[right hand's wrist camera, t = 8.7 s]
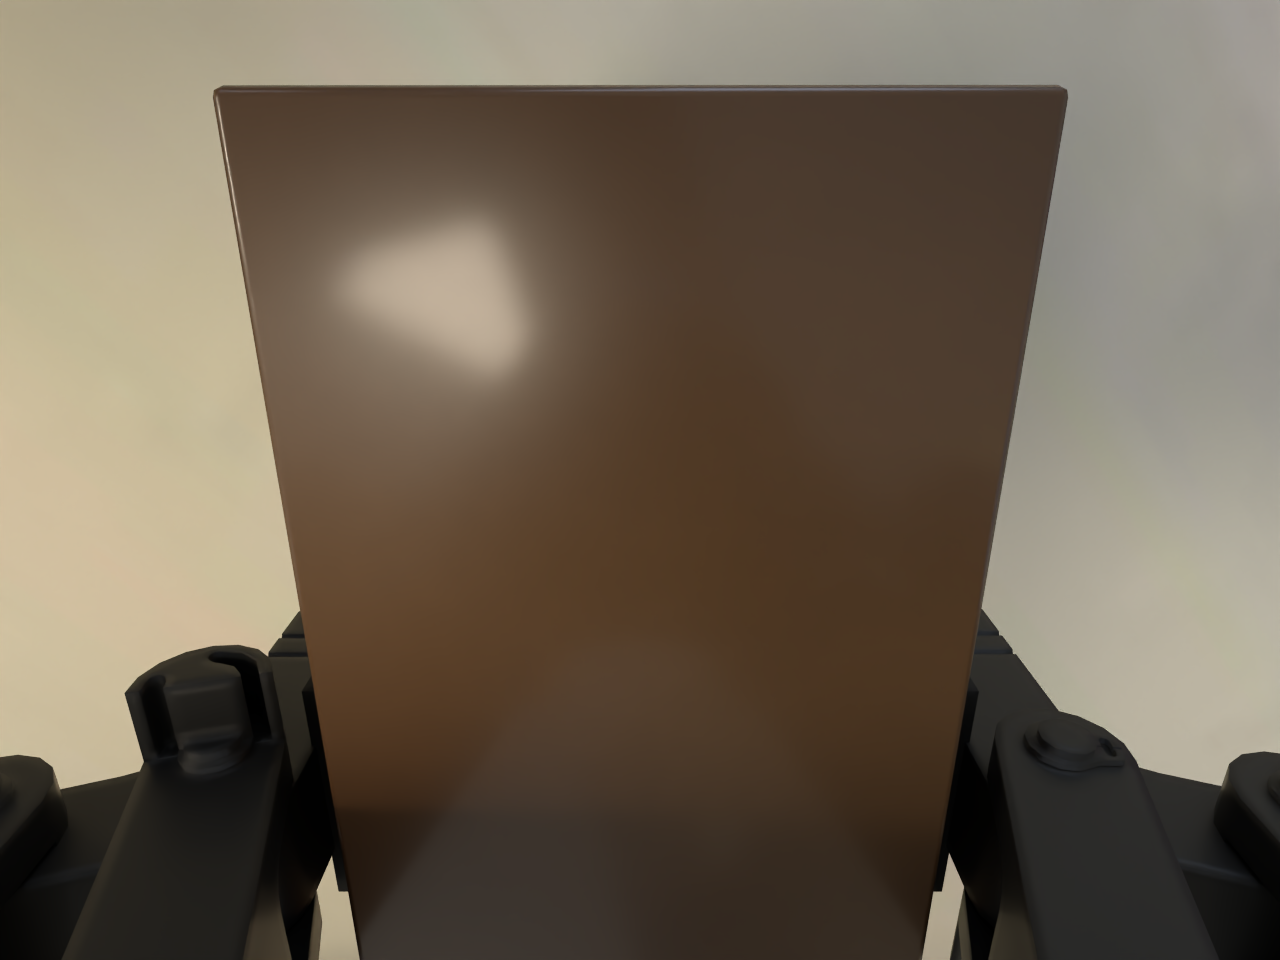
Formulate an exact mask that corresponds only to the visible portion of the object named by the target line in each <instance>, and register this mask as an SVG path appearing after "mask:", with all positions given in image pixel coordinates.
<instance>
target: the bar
mask: <svg viewBox="0 0 1280 960" xmlns="http://www.w3.org/2000/svg"><path fill="white" fill-rule="evenodd" d="M213 100H214V106H215V112H216V118H217V124H218V130H219V135H220V141H221V147H222V153H223V159H224V165H225V171H226V177H227V182H228V188H229V194H230V200H231V206H232V212H233V218H234V224H235V229H236V235H237V241H238V247H239V253H240V259H241V265H242V271H243V276H244V282H245V288H246V294H247V300H248V306H249V312H250V318H251V323H252V329H253V335H254V341H255V347H256V353H257V359H258V364H259V370H260V376H261V382H262V388H263V394H264V400H265V406H266V411H267V417H268V423H269V429H270V435H271V441H272V447H273V453H274V458H275V464H276V470H277V476H278V482H279V488H280V494H281V500H282V505H283V511H284V517H285V523H286V529H287V535H288V541H289V547H290V552H291V558H292V564H293V570H294V576H295V582H296V588H297V594H298V599H299V605H300V611H301V617H302V623H303V629H304V635H305V641H306V646H307V652H308V658H309V664H310V670H311V676H312V682H313V688H314V693H315V699H316V705H317V711H318V717H319V723H320V729H321V735H322V740H323V746H324V752H325V758H326V764H327V770H328V776H329V782H330V787H331V793H332V799H333V805H334V811H335V817H336V823H337V829H338V834H339V840H340V846H341V852H342V858H343V864H344V870H345V876H346V881H347V887H348V893H349V899H350V905H351V911H352V917H353V922H354V928H355V934H356V940H357V946H358V952H359V958H360V960H922V955H923V949H924V943H925V937H926V931H927V926H928V920H929V914H930V908H931V902H932V896H933V890H934V884H935V878H936V872H937V867H938V861H939V855H940V849H941V843H942V837H943V831H944V825H945V819H946V814H947V808H948V802H949V796H950V790H951V784H952V778H953V772H954V766H955V760H956V755H957V749H958V743H959V737H960V731H961V725H962V719H963V713H964V707H965V702H966V696H967V690H968V684H969V678H970V672H971V666H972V660H973V654H974V648H975V643H976V637H977V631H978V625H979V619H980V613H981V607H982V601H983V595H984V589H985V584H986V578H987V572H988V566H989V560H990V554H991V548H992V542H993V536H994V531H995V525H996V519H997V513H998V507H999V501H1000V495H1001V489H1002V483H1003V477H1004V472H1005V466H1006V460H1007V454H1008V448H1009V442H1010V436H1011V430H1012V424H1013V419H1014V413H1015V407H1016V401H1017V395H1018V389H1019V383H1020V377H1021V371H1022V365H1023V360H1024V354H1025V348H1026V342H1027V336H1028V330H1029V324H1030V318H1031V312H1032V307H1033V301H1034V295H1035V289H1036V283H1037V277H1038V271H1039V265H1040V259H1041V253H1042V248H1043V242H1044V236H1045V230H1046V224H1047V218H1048V212H1049V206H1050V200H1051V195H1052V189H1053V183H1054V177H1055V171H1056V165H1057V159H1058V153H1059V147H1060V141H1061V136H1062V130H1063V124H1064V118H1065V112H1066V106H1067V100H1068V93H1067V90H1066V89H1065V88H1063V87H1061V86H1059V85H241V86H221V87H219V88H217V89H215V90H214V94H213Z"/></svg>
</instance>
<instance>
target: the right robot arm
mask: <svg viewBox="0 0 1280 960" xmlns="http://www.w3.org/2000/svg"><path fill="white" fill-rule="evenodd" d="M125 696H126V700H127V703H128V707H129V710H130V714H131V717H132V721H133V725H134V728H135V732H136V735H137V739H138V742H139V746H140V749H141V753H142V756H143V760H144V763H143V765H142V768H141V770H140V772H136V773H132V774H129V775H125V776H121V777H117V778H112V779H107V780H102V781H98V782H93V783H88V784H84V785H79V786H74V787H70V788H65V789H60V788H59V785H58V782H57V779H56V776H55V773H54V770H53V767H52V766H50V765H49V764H48V763H46V762H45V761H44V760H42V759H41V758H38V757H30V756H22V755H14V756H6V757H0V960H318V959H319V949H320V939H321V929H322V918H321V912H320V906H319V901H318V896H317V891H316V890H317V888H318V886H319V883H320V881H321V879H322V877H323V874H324V872H325V870H326V868H327V865H328V863H329V861H330V858H331V856H332V858H333V863H334V869H335V874H336V880H337V885H338V890H339V891H348V887H347V881H346V876H345V870H344V864H343V858H342V852H341V846H340V840H339V834H338V829H337V823H336V817H335V811H334V805H333V799H332V793H331V787H330V782H329V776H328V770H327V764H326V758H325V752H324V746H323V740H322V735H321V729H320V723H319V717H318V711H317V705H316V699H315V693H314V688H313V682H312V676H311V670H310V664H309V658H308V652H307V646H306V641H305V635H304V629H303V623H302V617H301V611H299V612H298V613H297V615H296V616H295V617H294V619H293V620H292V621H291V623H290V624H289V626H288V627H287V628H286V630H285V631H284V632H283V634H282V638H279V639H278V640H277V642H276V643H275V644H274V646H273V647H272V648H271V650H270V651H269V655H268V656H266V655H265V654H264V653H262V652H261V651H260V650H259V649H255V648H250V647H245V646H241V645H226V646H211V647H207V648H202V649H198V650H194V651H189V652H185V653H183V654H180V655H178V656H176V657H173V658H171V659H168V660H166V661H163V662H161V663H159V664H157V665H156V666H154V667H153V668H151V669H150V670H148V671H147V672H145V673H144V674H142V675H141V676H139V677H138V678H137V679H136V680H135V682H134V683H133V684H132V685H131V686H130V688H129V689H128V690H127V691H126V692H125ZM949 853H950V856H951V858H952V860H953V862H954V865H955V867H956V869H957V871H958V874H959V876H960V878H961V880H962V883H963V885H964V891H963V896H962V901H961V906H960V911H959V916H958V921H957V926H956V931H955V936H954V941H953V946H952V951H951V956H950V960H1280V754H1279V753H1271V752H1257V753H1249V754H1242V755H1240V756H1239V757H1238V758H1236V759H1235V760H1234V761H1232V762H1231V763H1230V764H1229V766H1228V769H1227V772H1226V775H1225V778H1224V781H1223V784H1222V786H1218V785H1213V784H1208V783H1204V782H1199V781H1194V780H1189V779H1185V778H1180V777H1175V776H1170V775H1166V774H1161V773H1157V772H1153V771H1150V770H1146V769H1143V768H1139V766H1138V764H1137V762H1136V760H1135V758H1134V757H1133V756H1132V754H1131V753H1130V751H1129V750H1128V749H1127V747H1126V746H1125V744H1124V743H1122V742H1121V741H1120V740H1119V739H1117V738H1116V737H1115V736H1113V735H1112V734H1111V733H1109V732H1108V731H1107V730H1105V729H1104V728H1102V727H1100V726H1098V725H1096V724H1094V723H1092V722H1090V721H1087V720H1085V719H1083V718H1081V717H1079V716H1076V715H1072V714H1068V713H1064V712H1060V711H1058V709H1057V708H1056V707H1055V706H1054V704H1053V703H1052V702H1051V700H1050V699H1049V698H1048V696H1047V695H1046V694H1045V692H1044V691H1043V690H1042V688H1041V687H1040V686H1039V684H1038V683H1037V682H1036V680H1035V679H1034V678H1033V676H1032V675H1031V674H1030V672H1029V671H1028V670H1027V668H1026V667H1025V666H1024V664H1023V663H1022V662H1021V660H1020V659H1019V658H1018V656H1017V655H1016V654H1013V652H1012V648H1011V647H1010V646H1009V644H1008V643H1007V642H1006V640H1005V639H1004V638H1003V636H999V631H998V630H997V628H996V627H995V626H994V624H993V623H992V622H991V620H990V619H989V618H988V616H987V615H986V614H985V612H984V611H983V610H982V609H981V613H980V619H979V625H978V631H977V637H976V643H975V648H974V654H973V660H972V666H971V672H970V678H969V684H968V690H967V696H966V702H965V707H964V713H963V719H962V725H961V731H960V737H959V743H958V749H957V755H956V760H955V766H954V772H953V778H952V784H951V790H950V796H949V802H948V808H947V814H946V819H945V825H944V831H943V837H942V843H941V849H940V855H939V861H938V867H937V872H936V878H935V884H934V890H933V891H936V892H942V888H943V882H944V877H945V872H946V866H947V861H948V855H949Z"/></svg>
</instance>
